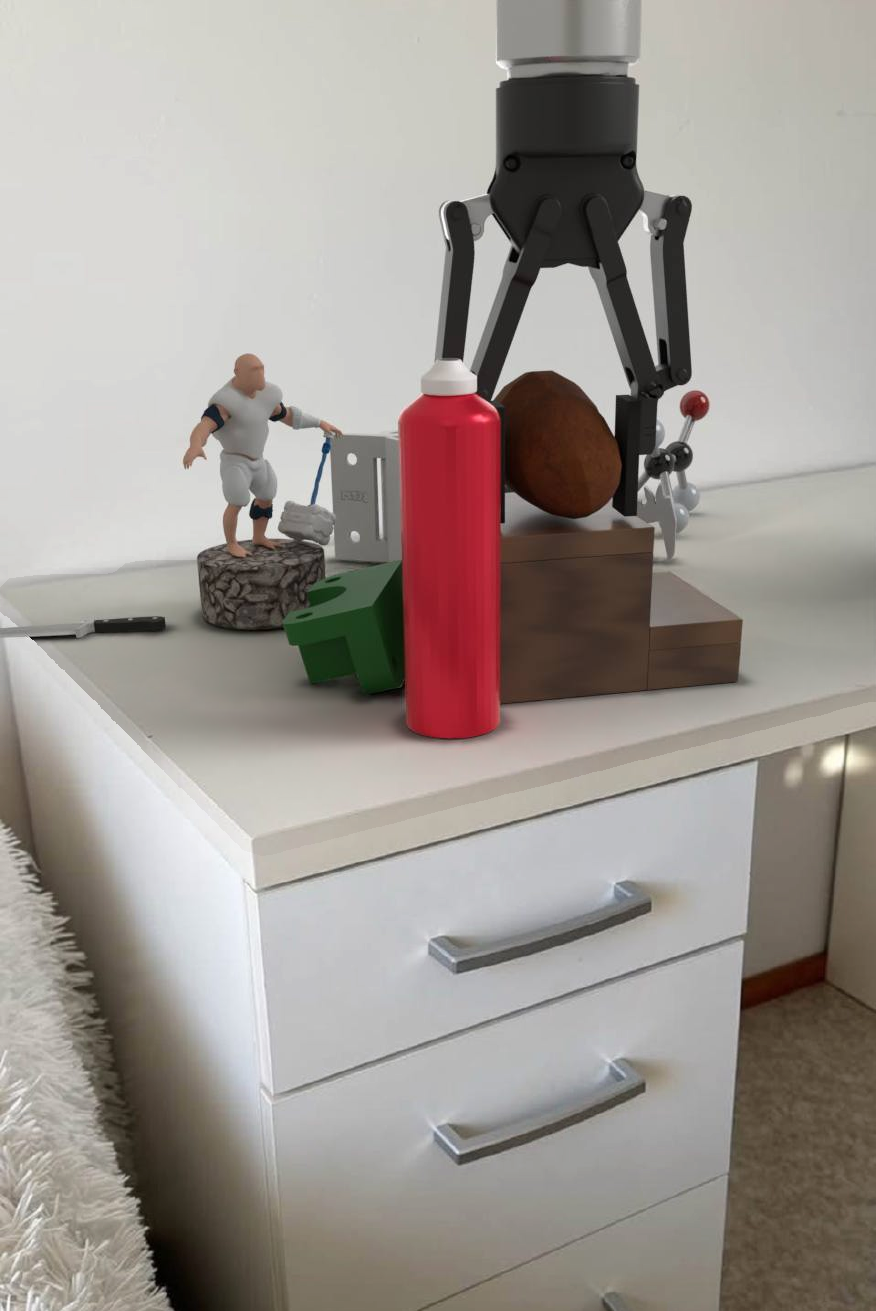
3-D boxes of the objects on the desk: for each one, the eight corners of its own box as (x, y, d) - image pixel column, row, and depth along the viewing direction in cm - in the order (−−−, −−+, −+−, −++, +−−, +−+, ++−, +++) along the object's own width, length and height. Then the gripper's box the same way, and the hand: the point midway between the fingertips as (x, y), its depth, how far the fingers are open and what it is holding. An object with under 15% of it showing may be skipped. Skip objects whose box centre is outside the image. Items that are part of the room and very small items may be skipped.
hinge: (331, 558, 117) (326, 432, 113) (378, 547, 120) (374, 424, 116) (453, 586, 108) (452, 451, 104) (500, 573, 112) (501, 442, 107)
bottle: (457, 699, 86) (453, 350, 77) (519, 722, 82) (522, 358, 73) (387, 721, 82) (374, 359, 74) (448, 746, 79) (443, 368, 70)
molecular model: (594, 527, 125) (598, 402, 121) (652, 502, 134) (658, 385, 130) (680, 538, 121) (687, 409, 117) (734, 511, 130) (743, 391, 126)
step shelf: (667, 627, 98) (675, 481, 94) (738, 681, 88) (751, 520, 84) (443, 646, 95) (441, 496, 91) (488, 705, 85) (489, 538, 80)
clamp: (349, 714, 96) (325, 582, 96) (434, 696, 95) (409, 562, 95) (291, 704, 84) (263, 554, 84) (386, 683, 83) (358, 531, 83)
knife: (-53, 636, 97) (-47, 628, 99) (-51, 646, 98) (-45, 638, 99) (163, 622, 99) (165, 615, 100) (164, 632, 99) (166, 624, 101)
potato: (538, 545, 81) (519, 406, 77) (462, 499, 90) (442, 372, 86) (656, 510, 83) (644, 372, 79) (570, 468, 92) (555, 343, 88)
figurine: (232, 648, 95) (209, 368, 88) (148, 626, 100) (119, 359, 93) (376, 601, 106) (367, 346, 98) (293, 583, 111) (278, 339, 103)
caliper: (674, 559, 115) (679, 481, 113) (673, 563, 114) (678, 484, 112) (430, 550, 119) (429, 475, 117) (427, 554, 119) (426, 477, 116)
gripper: (727, 76, 79) (702, 493, 89) (368, 80, 76) (383, 510, 86) (777, 66, 72) (744, 519, 82) (385, 71, 69) (399, 538, 79)
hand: (559, 514), depth 84 cm, fingers closed on potato, 7 cm apart
